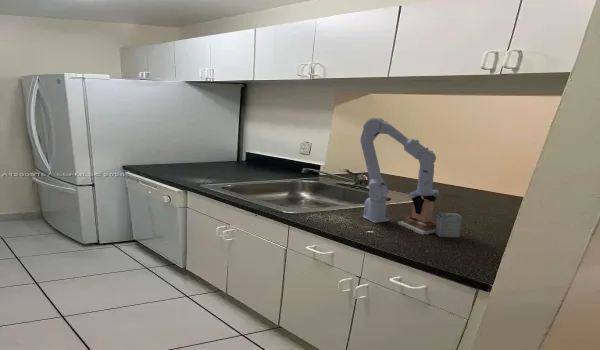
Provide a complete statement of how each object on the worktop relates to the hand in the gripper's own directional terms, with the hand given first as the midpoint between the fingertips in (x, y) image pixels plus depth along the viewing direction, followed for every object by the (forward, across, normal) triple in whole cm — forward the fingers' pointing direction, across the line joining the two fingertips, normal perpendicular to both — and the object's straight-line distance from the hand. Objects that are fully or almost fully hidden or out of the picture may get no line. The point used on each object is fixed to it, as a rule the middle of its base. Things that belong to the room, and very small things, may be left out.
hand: (422, 213), depth 145 cm
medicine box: (+6, +3, -11) cm, 13 cm away
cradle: (+6, 0, 0) cm, 6 cm away
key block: (+2, 0, 0) cm, 2 cm away
